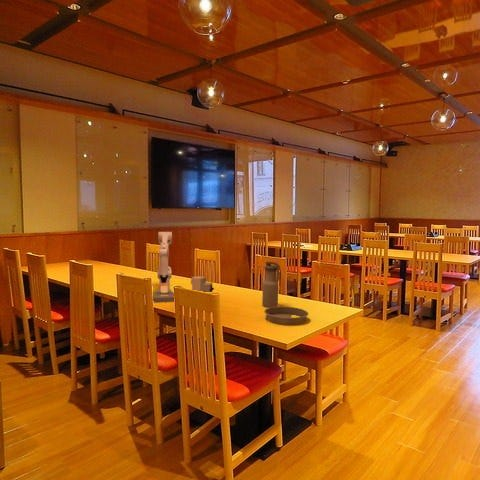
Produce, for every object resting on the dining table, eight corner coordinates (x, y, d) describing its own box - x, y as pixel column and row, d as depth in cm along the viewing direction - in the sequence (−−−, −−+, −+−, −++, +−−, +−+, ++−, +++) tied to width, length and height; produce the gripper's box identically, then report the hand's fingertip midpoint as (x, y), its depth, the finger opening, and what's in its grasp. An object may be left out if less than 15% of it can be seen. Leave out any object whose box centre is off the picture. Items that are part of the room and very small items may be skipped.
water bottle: (279, 304, 255) (280, 261, 253) (276, 308, 246) (278, 263, 244) (264, 303, 258) (265, 260, 256) (260, 307, 249) (261, 262, 246)
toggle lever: (160, 294, 267) (160, 283, 270) (167, 293, 268) (167, 283, 271) (160, 293, 265) (160, 282, 268) (167, 292, 266) (167, 282, 269)
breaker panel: (150, 296, 272) (150, 288, 271) (177, 295, 276) (177, 287, 275) (150, 302, 254) (150, 294, 254) (178, 301, 258) (178, 293, 258)
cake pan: (292, 329, 206) (292, 320, 205) (255, 319, 222) (255, 311, 221) (316, 319, 224) (316, 311, 224) (280, 311, 240) (280, 304, 240)
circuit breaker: (211, 301, 260) (212, 279, 258) (190, 300, 262) (190, 277, 261) (214, 299, 267) (215, 277, 266) (194, 298, 270) (194, 276, 268)
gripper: (157, 264, 279) (157, 283, 280) (158, 267, 265) (158, 288, 266) (167, 264, 281) (167, 283, 282) (168, 267, 266) (168, 287, 268)
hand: (163, 285), depth 274 cm, fingers closed
